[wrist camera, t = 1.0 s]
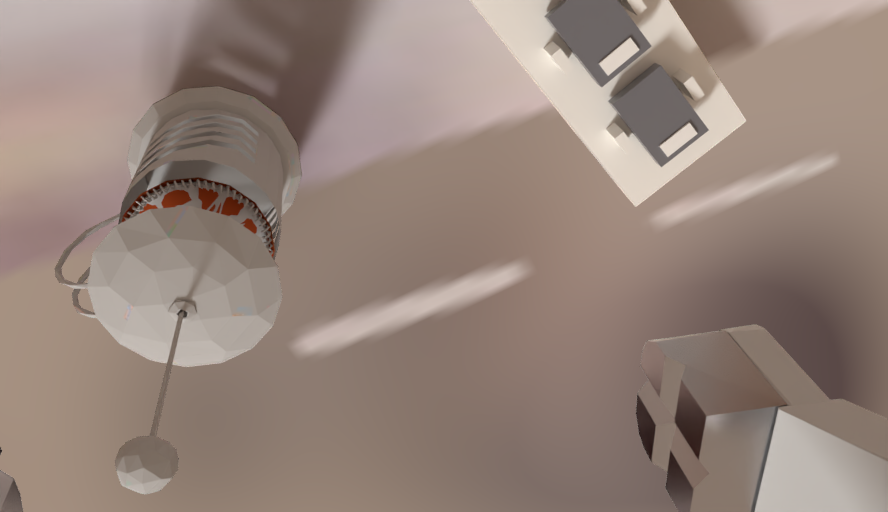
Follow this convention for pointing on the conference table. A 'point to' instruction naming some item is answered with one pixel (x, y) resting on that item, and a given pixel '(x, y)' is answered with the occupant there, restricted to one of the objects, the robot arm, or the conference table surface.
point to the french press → (192, 246)
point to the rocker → (658, 114)
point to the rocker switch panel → (617, 86)
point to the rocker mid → (598, 36)
